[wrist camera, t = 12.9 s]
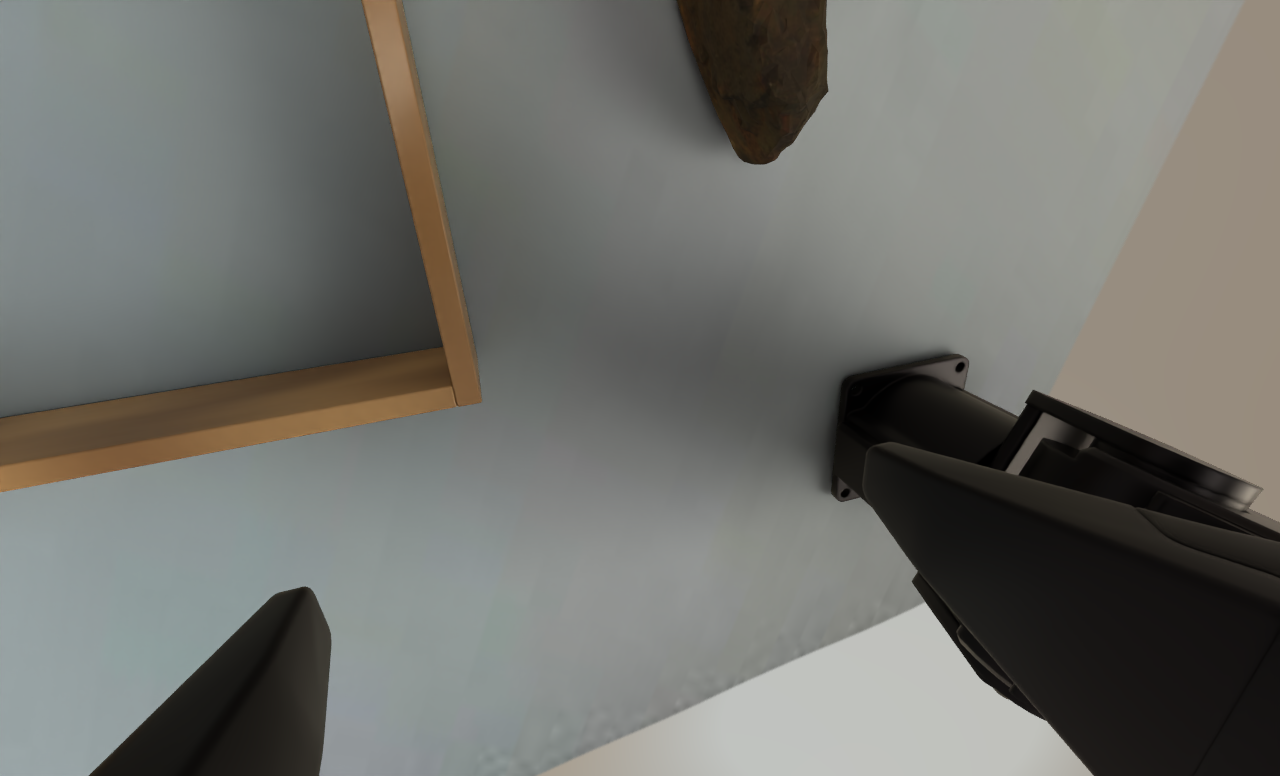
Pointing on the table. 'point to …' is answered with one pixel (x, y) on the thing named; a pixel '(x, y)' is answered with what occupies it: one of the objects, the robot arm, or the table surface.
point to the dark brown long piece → (760, 67)
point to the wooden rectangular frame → (296, 398)
